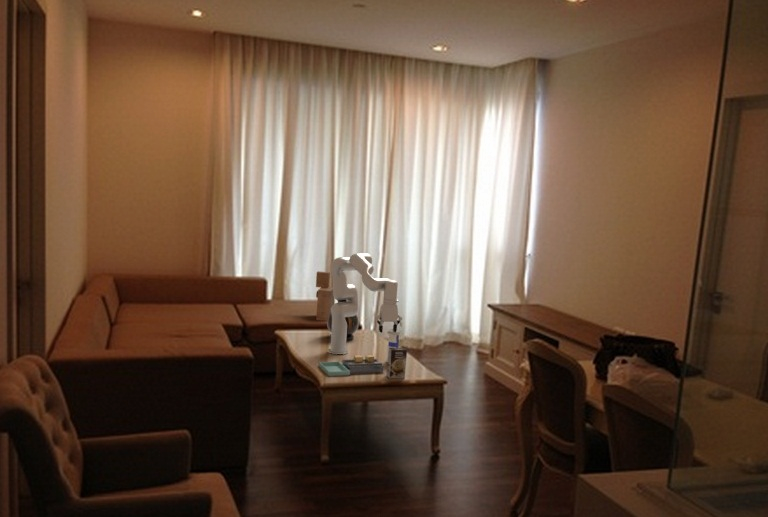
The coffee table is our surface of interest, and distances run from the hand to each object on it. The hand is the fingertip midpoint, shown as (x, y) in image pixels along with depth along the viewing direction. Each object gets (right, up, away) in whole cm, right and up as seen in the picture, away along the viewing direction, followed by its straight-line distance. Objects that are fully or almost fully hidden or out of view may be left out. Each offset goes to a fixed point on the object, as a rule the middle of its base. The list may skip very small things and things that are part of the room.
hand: (387, 331), depth 390 cm
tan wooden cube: (-17, -17, -4) cm, 25 cm away
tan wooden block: (-10, -18, -2) cm, 20 cm away
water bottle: (+3, -21, +19) cm, 28 cm away
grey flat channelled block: (-14, -21, -3) cm, 26 cm away
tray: (-30, -21, -9) cm, 38 cm away
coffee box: (+4, -24, -12) cm, 27 cm away
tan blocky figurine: (-49, -4, +138) cm, 147 cm away
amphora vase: (-31, -12, +74) cm, 81 cm away
